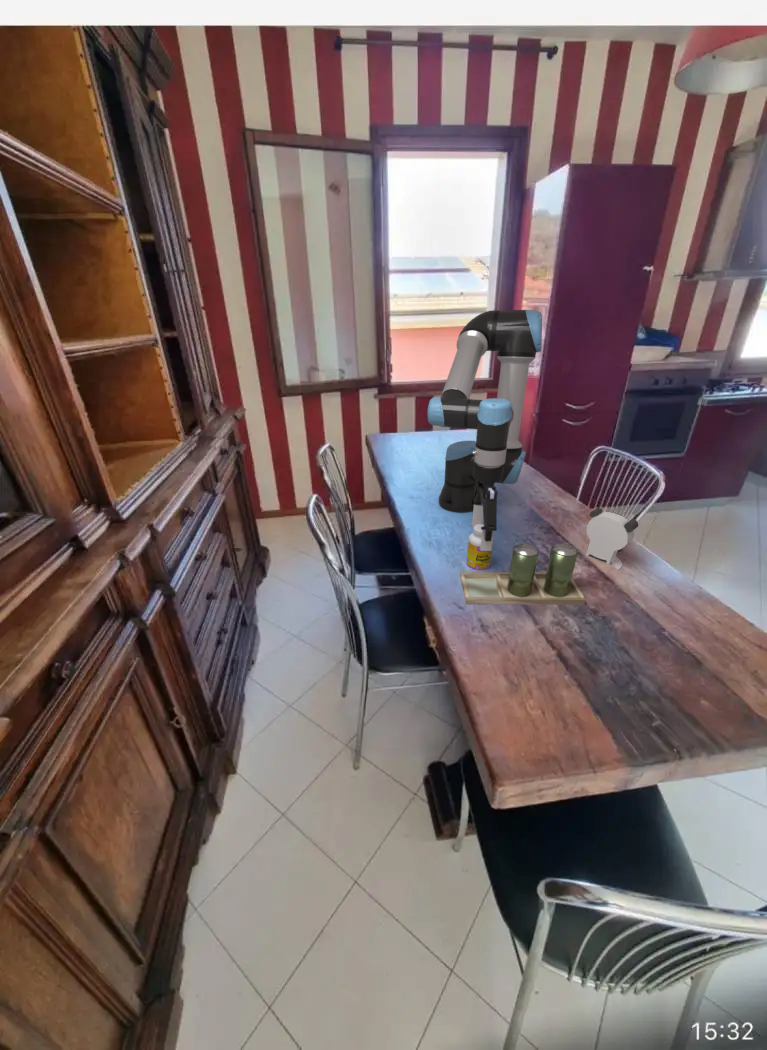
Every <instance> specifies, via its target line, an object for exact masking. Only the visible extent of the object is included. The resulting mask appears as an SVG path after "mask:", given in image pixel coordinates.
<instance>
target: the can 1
mask: <svg viewBox="0 0 767 1050" xmlns="http://www.w3.org/2000/svg"><path fill="white" fill-rule="evenodd" d="M512 548H513V549H512V553H511V559H510V560H511V561H510V566H509V572H510V573H509V579H508V586H507V590H508V592H509V593H510V594H512V595H514V596H517V597H527V596H529V595H530V594H531V591H532V585H533V580H534V575H535V572H536V567H537V562H538V558H539V553H540V552H539V550H538V549H537V547H536V546H534V545H531V544H529V543H518V544H516V545H515V546H513V547H512Z"/></svg>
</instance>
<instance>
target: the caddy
mask: <svg viewBox="0 0 767 1050" xmlns="http://www.w3.org/2000/svg"><path fill="white" fill-rule="evenodd" d="M509 573H510V571H507V572H505V571H504V572H503V571H501V572H498V571H495V572H492V571H489V572H488V571H487V572H486V571H477V572H476V571H474V572H473V571H470V572H469V571H468V572H465V571H463V572H462V571H461V572H460V573H459V575H460V576H459V578H460V582H461V583H460V584H461V586H462V592H463V596H464V600H465V604H466V605H534V606H535V605H536V606H537V605H538V606H539V605H545V606H546V605H555V606H556V605H558V606H559V605H560V606H561V605H562V606H564V605H566V606H568V605H569V606H570V605H571V606H575V605H578V606H581V605H582V606H583V605H584V606H585V604H586V601H587V600H586V598H585V595H583V593H582V591H581V589H580V588H579V586H578V585H577V583H576V582H575V580H574V578H573V577H572V579H571V583H570V587H569V591H568V595H567V596H565V597H554V596H551V595H549V594H547V593H546V592H545V591H544V583H545V578H546V573H547V571H546V572H544V571H543V572H540V571H539V572H537V571H535V575H534V580H533V585H532V591H531V594H530V595H529V596H527V597H517V596H514V595H512V594H510V593H509V592H508V590H507V586H508V579H509Z"/></svg>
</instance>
